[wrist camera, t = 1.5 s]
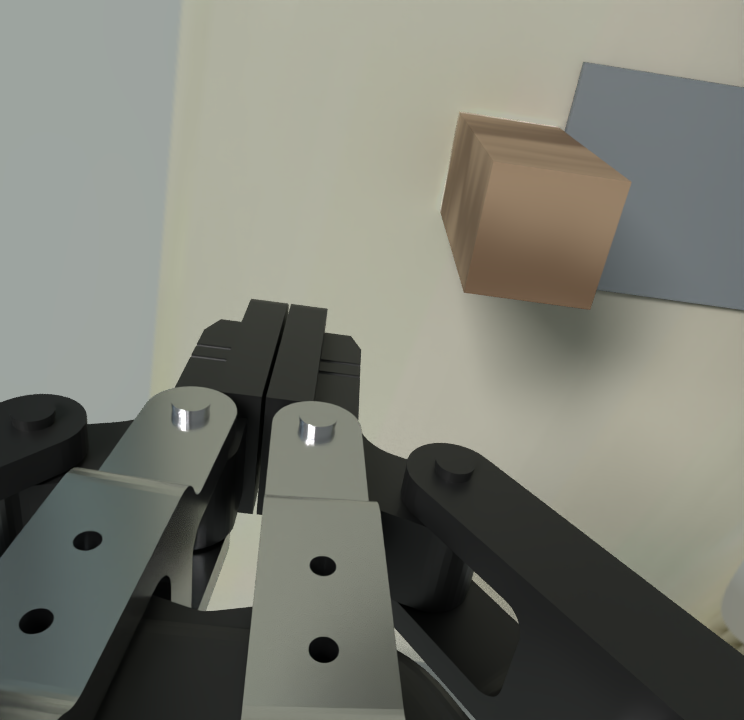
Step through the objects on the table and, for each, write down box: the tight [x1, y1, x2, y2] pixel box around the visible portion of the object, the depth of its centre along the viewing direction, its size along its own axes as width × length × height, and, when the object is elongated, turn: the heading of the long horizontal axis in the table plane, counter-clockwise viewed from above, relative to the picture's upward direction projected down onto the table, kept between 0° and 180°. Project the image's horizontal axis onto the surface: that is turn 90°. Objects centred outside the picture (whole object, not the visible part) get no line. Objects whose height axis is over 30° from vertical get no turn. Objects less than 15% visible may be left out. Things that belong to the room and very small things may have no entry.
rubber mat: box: [565, 62, 744, 310], centre depth 32 cm, size 10×12×1 cm
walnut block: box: [440, 112, 632, 310], centre depth 27 cm, size 4×4×10 cm
